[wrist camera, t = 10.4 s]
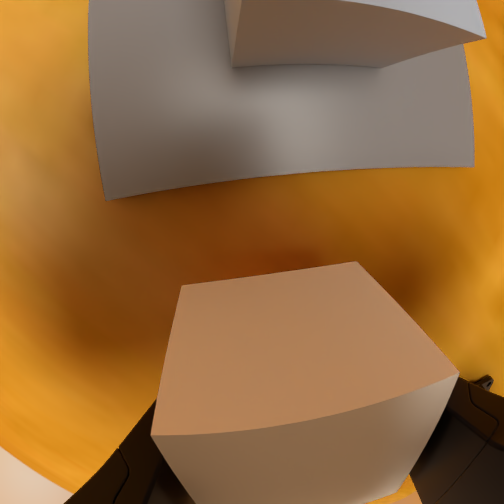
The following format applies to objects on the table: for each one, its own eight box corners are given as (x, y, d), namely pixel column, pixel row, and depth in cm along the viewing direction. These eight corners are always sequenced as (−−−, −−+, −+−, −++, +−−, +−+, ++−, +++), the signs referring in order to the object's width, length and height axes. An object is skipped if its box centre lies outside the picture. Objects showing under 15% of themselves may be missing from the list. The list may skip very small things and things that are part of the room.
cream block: (346, 383, 10) (396, 492, 6) (213, 405, 10) (215, 528, 6) (356, 261, 9) (459, 372, 4) (181, 285, 8) (150, 435, 4)
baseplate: (462, 164, 11) (475, 167, 10) (113, 196, 10) (104, 201, 9) (417, -64, 6) (426, -71, 5) (103, -68, 6) (97, -78, 5)
